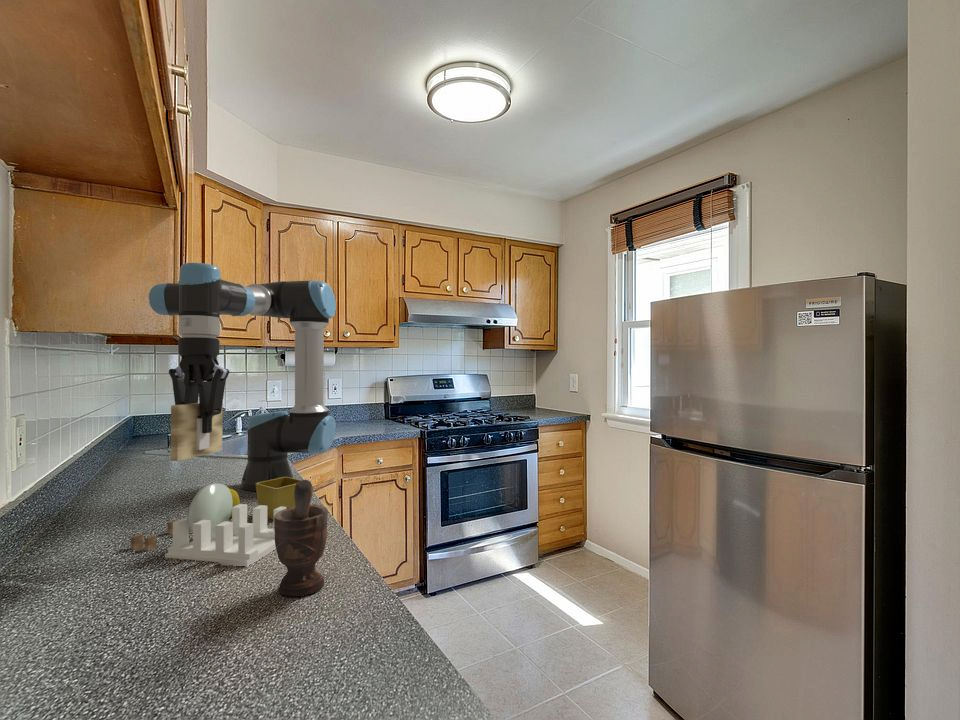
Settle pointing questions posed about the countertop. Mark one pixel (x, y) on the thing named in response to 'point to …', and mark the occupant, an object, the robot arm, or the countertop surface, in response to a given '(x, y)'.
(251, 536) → the dish rack
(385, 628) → the countertop surface
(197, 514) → the sage plate
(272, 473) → the robot arm
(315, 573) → the mortar and pestle
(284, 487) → the flower pot
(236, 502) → the lemon
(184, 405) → the bamboo board
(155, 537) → the board stand
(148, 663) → the countertop surface
